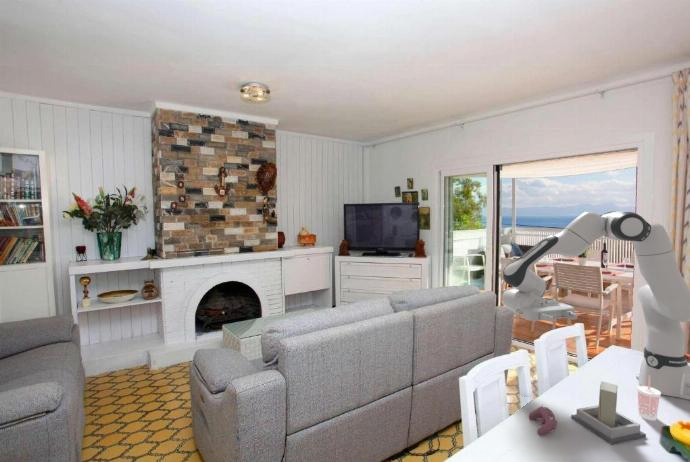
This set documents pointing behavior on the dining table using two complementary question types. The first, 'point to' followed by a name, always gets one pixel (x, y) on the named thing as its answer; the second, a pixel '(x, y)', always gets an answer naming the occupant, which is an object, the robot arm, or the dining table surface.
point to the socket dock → (618, 434)
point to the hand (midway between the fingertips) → (564, 318)
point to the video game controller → (544, 420)
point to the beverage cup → (648, 401)
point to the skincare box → (607, 404)
